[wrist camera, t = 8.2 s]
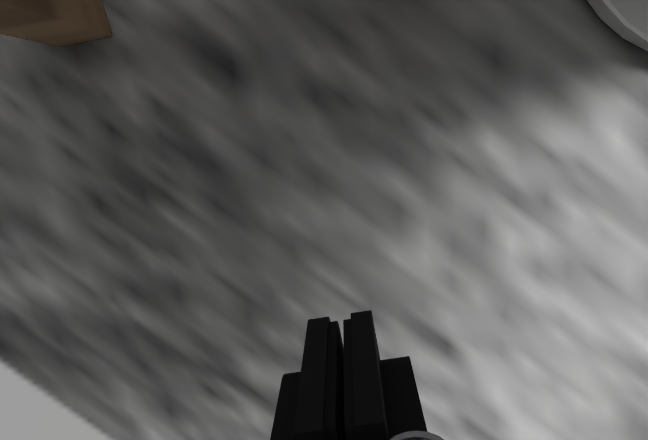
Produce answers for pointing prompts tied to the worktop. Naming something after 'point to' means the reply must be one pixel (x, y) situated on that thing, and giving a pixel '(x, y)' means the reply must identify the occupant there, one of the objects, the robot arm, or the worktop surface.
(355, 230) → the worktop surface
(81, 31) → the bridge
